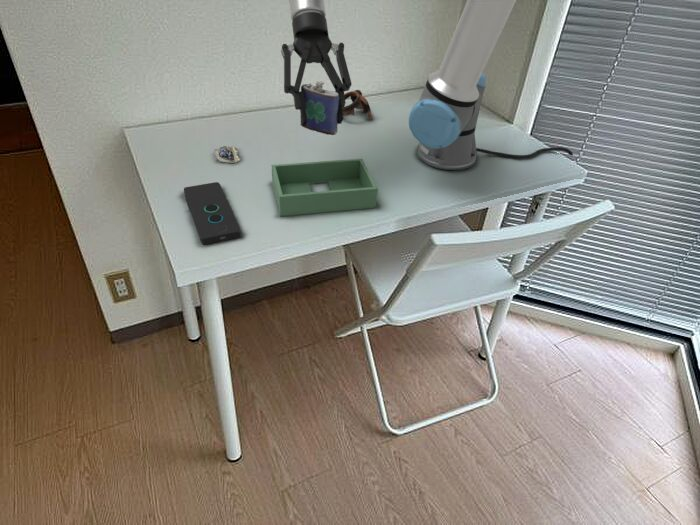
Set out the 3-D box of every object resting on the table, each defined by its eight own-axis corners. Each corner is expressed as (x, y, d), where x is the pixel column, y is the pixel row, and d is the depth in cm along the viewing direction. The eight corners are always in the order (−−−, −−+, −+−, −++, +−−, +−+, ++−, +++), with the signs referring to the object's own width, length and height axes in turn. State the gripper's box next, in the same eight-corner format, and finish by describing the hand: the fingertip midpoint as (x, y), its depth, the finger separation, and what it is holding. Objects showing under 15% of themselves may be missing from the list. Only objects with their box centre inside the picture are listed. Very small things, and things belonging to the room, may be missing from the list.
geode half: (231, 146, 133) (231, 139, 132) (248, 158, 129) (248, 151, 128) (208, 153, 130) (207, 146, 129) (225, 166, 125) (224, 159, 124)
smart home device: (200, 238, 100) (182, 187, 114) (201, 245, 101) (183, 193, 115) (241, 230, 103) (219, 181, 117) (242, 237, 104) (220, 187, 118)
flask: (339, 132, 113) (341, 84, 107) (332, 137, 111) (334, 89, 105) (304, 121, 117) (304, 74, 110) (297, 126, 115) (296, 78, 108)
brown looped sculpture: (373, 125, 148) (361, 103, 143) (343, 135, 152) (331, 114, 146) (375, 99, 155) (364, 77, 150) (347, 109, 159) (335, 88, 153)
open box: (360, 176, 125) (362, 158, 122) (376, 207, 115) (378, 188, 112) (272, 183, 121) (271, 164, 117) (280, 216, 111) (279, 196, 107)
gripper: (349, 28, 117) (363, 126, 115) (261, 29, 112) (274, 131, 111) (357, 9, 110) (371, 113, 108) (263, 10, 105) (277, 118, 104)
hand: (322, 122), depth 109 cm, fingers closed on flask, 7 cm apart
